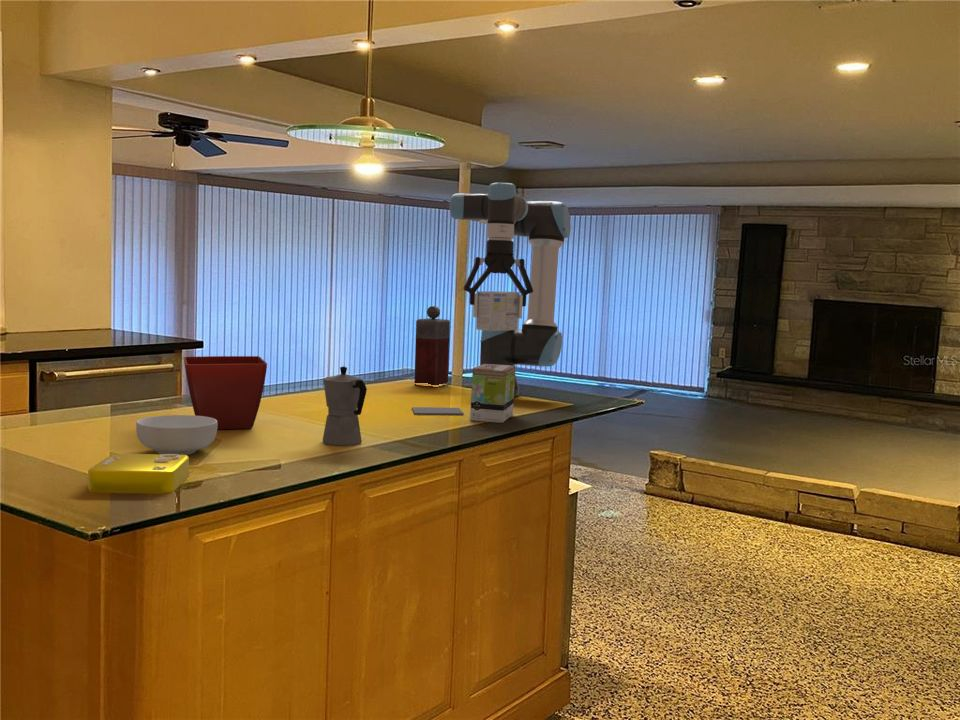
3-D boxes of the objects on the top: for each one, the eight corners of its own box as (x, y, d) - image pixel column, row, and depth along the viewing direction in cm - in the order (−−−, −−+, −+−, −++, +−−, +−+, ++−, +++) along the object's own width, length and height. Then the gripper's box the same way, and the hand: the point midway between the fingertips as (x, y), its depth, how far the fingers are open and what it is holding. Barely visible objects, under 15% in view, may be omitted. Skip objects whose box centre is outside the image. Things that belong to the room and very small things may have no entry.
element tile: (112, 475, 171) (112, 450, 170) (191, 476, 172) (191, 452, 172) (84, 495, 156) (84, 468, 156) (171, 496, 157) (171, 469, 157)
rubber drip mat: (411, 408, 259) (411, 407, 259) (458, 409, 261) (458, 407, 261) (414, 414, 249) (414, 412, 249) (463, 415, 252) (463, 413, 251)
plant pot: (183, 419, 229) (183, 355, 227) (258, 418, 236) (259, 355, 234) (185, 433, 211) (185, 364, 209) (267, 431, 218) (267, 363, 216)
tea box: (505, 423, 240) (507, 370, 239) (469, 421, 242) (470, 367, 241) (514, 415, 255) (516, 364, 253) (480, 412, 257) (481, 362, 255)
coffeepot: (309, 439, 209) (310, 364, 207) (342, 435, 215) (344, 362, 214) (346, 451, 198) (348, 371, 196) (380, 446, 204) (382, 369, 202)
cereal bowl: (217, 459, 185) (217, 426, 185) (132, 462, 181) (132, 428, 180) (217, 443, 201) (217, 413, 201) (139, 445, 197) (139, 414, 196)
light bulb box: (501, 328, 252) (503, 290, 251) (518, 330, 248) (520, 291, 246) (474, 329, 245) (476, 290, 244) (492, 331, 240) (493, 291, 239)
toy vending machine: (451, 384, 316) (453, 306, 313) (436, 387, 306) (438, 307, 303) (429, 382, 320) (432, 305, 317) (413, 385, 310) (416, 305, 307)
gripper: (458, 237, 238) (456, 317, 240) (546, 241, 242) (542, 319, 244) (455, 238, 245) (452, 315, 248) (539, 241, 249) (536, 318, 252)
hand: (497, 317), depth 246 cm, fingers closed on light bulb box, 12 cm apart
